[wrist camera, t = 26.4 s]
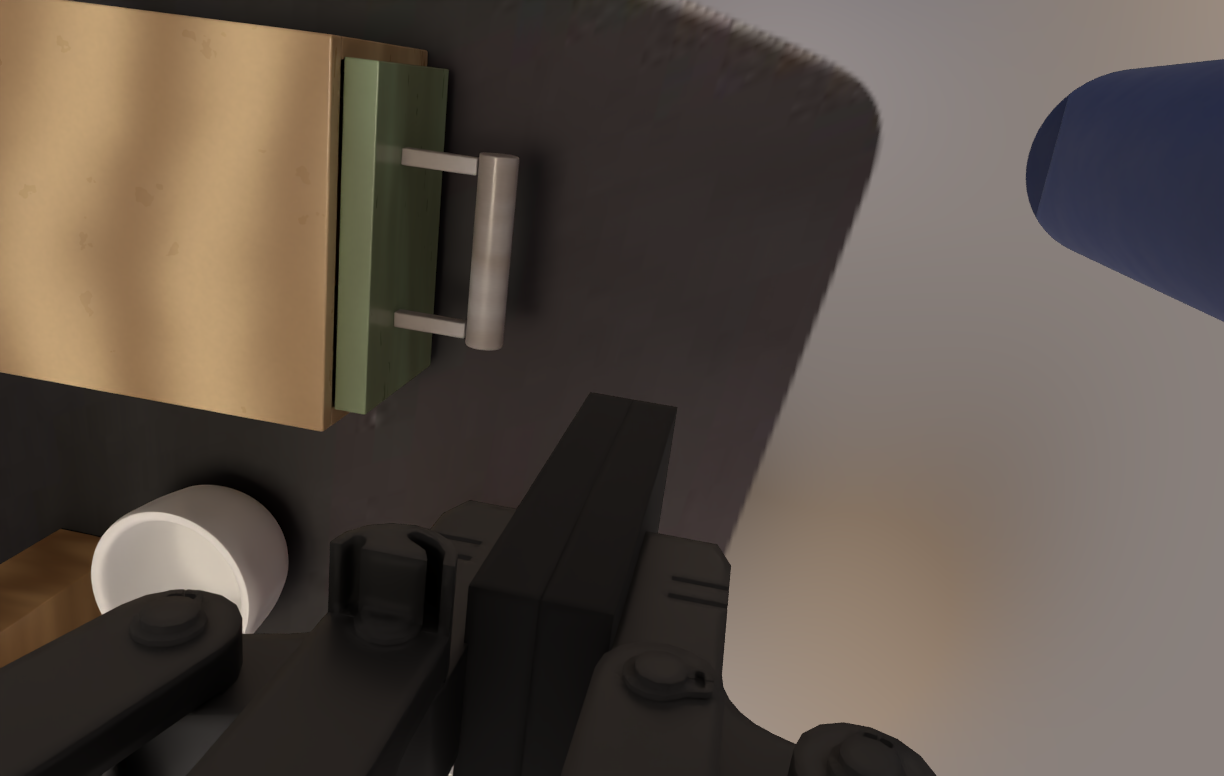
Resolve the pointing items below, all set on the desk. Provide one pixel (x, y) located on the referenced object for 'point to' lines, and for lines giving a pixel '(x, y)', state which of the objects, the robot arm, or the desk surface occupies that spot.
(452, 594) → the robot arm
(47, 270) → the cabinet
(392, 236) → the drawer
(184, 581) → the teacup
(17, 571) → the post
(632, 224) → the desk surface
